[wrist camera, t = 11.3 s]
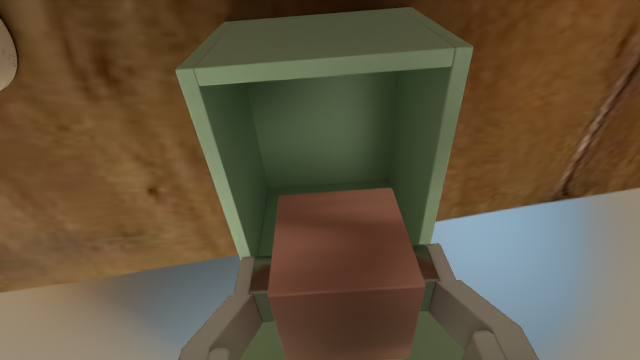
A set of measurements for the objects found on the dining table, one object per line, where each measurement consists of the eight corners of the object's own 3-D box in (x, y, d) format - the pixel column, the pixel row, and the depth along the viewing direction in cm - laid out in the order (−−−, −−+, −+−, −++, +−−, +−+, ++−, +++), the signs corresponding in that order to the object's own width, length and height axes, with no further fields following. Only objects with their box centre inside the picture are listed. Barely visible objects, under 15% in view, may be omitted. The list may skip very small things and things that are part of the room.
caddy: (223, 21, 21) (174, 69, 13) (412, 6, 21) (474, 46, 13) (262, 190, 30) (246, 278, 22) (394, 180, 30) (425, 266, 22)
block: (292, 266, 15) (287, 366, 11) (278, 194, 12) (266, 296, 9) (385, 260, 15) (409, 358, 11) (392, 186, 12) (426, 285, 9)
